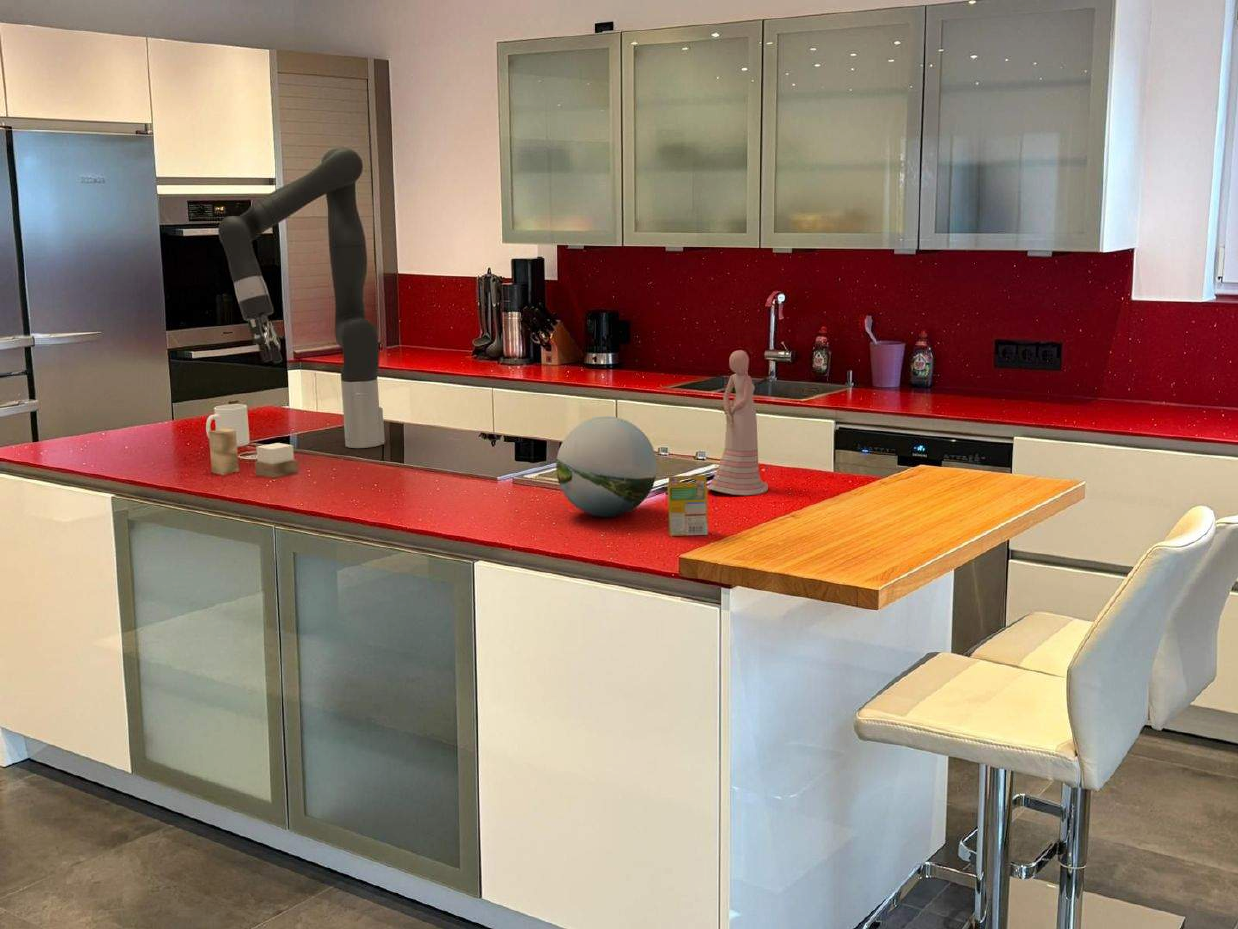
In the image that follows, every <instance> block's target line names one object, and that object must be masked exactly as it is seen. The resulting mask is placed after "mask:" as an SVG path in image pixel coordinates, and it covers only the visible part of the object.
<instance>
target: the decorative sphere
mask: <svg viewBox="0 0 1238 929" xmlns="http://www.w3.org/2000/svg"><path fill="white" fill-rule="evenodd" d="M657 463H658V462H657V457H656V452H655V450H654V447H653V445H652V443H651V441H650V439H649V438H648V437H647V435H646V434H645V433H644V432H643V431H642V430H641V429H640V428H639V427H637V425H635V424H634V423H632V422H630V421H628V420H626V419H623V418H620V417H616V416H598V417H593V418H590V419H588V420H585V421H583V422H581V423H579V424H578V425H577V426H575V427H574V428H573V429H571V431H569V433H567V435H566V436H565V438H564V439H563V440H562V442H561V445H560V447H559V449H558V452H557V457H556V462H555V464H556V465H555V467H556V470H555V471H556V478H557V482H558V484H559V488H560V489H561V491H562V493H563V494H564V497H566V499H567V500H568V501H569V502H570V503H571V504H572V505H573V506H574V507H576V508H577V509H578V510H580V511H581V512H584V513H585V514H588V515H592V516H595V517H600V518H612V517H613V518H614V517H619V516H623V515H625V514H628V513H630V512H632V511H633V510H635V509H636V508H637V507H639V506H640V505H641V504H642V503H643V502H644V501H645V500H646V499H647V497H648V496H649V494H650V493H651V491H652V489H653V487H654V483H655V482H656V477H657V470H658V464H657Z"/></svg>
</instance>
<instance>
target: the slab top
mask: <svg viewBox="0 0 1238 929" xmlns="http://www.w3.org/2000/svg"><path fill="white" fill-rule="evenodd" d="M294 455H295V453H294V445H292V444H288V443H281V442H275V443H270V444H263V445H259V446H256V459H257V460H256V461H259V462H264V463H269V464H276V463H282V462H287V461H292V460H295V457H294Z"/></svg>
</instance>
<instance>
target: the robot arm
mask: <svg viewBox="0 0 1238 929" xmlns="http://www.w3.org/2000/svg"><path fill="white" fill-rule="evenodd" d="M362 160H363V159H362V158H361V156H360V155H359V154H358V153H357V152H356V151H355V150H353V149H351V148H348V147H337V148H333V149H330V150H329V151H327V152H326V153H324V155H323V157H322V159H321V163H320V164H319V165H318V166H316V167H315V168H314V169H312V170H311V171H309V172H308V173H306V174H305V175H303V176H301V177H299V178H297V179H296V180H294V181H292V182H290V183H287V184H286V185H283V186H281V187H279V188H278V189H276V190H274V191H272V192H270V193H269V194H267V195H264V196H263V197H262V198H260V199H259V200H257V201H255V202H254V203H253V204H251V206H250V207H249V208H248V210H246V211H245V212H243V213H242V214H240V215H239V216H235V215H230V216H226V217H224V218H223V219H222V220H220V223H219V224H218V230H217V231H218V232H217V233H218V237H219V241H220V243H221V244H222V247H223V250H224V252H225V255H226V258H227V263H228V269H229V272H230V275H231V280H232V282H233V286H234V291H235V292H234V293H235V296H236V299H237V302H238V305H239V309H240V312H241V315H242V319H243V320H244V321H246V322H247V325H248V328H249V330H250V335H251V337H252V339H251V340H252V342H253V344H254V345H256V347H257V348H258V350H259V353H260V357H261V360H262V362H264V363H267V362H270V361H272V363H273V364H279V363H282V362H283V357H282V355H281V351H280V345H281V341H280V338H279V335H278V332H277V328H276V325H275V322H274V321H273V320H272V321H270V320H269V318H268V317H269V316H271V315H272V314H273V313H274V311H275V310H274V306H273V303H272V301H271V297H270V294H269V290H268V287H267V284H266V282H265V280H264V277H263V275H262V272H261V268H260V265H259V262H258V260H257V258H256V255H255V251H254V248H253V243H252V242H253V241H254V240H256V239H258V237H260V236H261V235H262V234H263V233H265V232H266V231H267V230H269V229H271V228H273V227H274V226H276V225H278V224H279V223H281V222H283V221H285V220H286V219H287V218H289V217H290V216H292V215H293V214H295V213H297V212H298V211H299V210H302V209H303V208H305V207H306V206H308V204H310V203H312V202H313V201H315V200H317V199H319V198H321V197H323V196H324V195H325V197H326V204H327V231H328V250H329V260H330V268H331V269H330V270H331V278H332V284H333V290H334V291H333V293H334V307H335V310H334V311H335V312H334V314H335V317H334V335H335V336H334V337H335V340H336V342H337V344H338V346H339V347H340V348H342V357H343V363H342V368H341V369H340V381H341V397H342V412H343V425H344V428H343V429H344V441H345V443H344V444H345V447H346V448H352V449H365V448H374V447H377V446H378V447H379V446H381V445H385V442H386V440H385V428H384V424H385V423H384V410H383V408H382V407H380V399H379V398H380V396H379V384H378V383H379V382H378V370H379V368H380V366H379V365H380V360H379V358H380V356H379V355H380V354H379V353H380V352H379V337H378V336H379V335H378V331H377V328H376V326H375V325H374V324H373V323H372V322H371V321H370V320H369V319H367V317H366V312H365V307H364V306H365V304H364V288H365V284H366V278H367V271H368V252H367V251H368V250H367V241H366V236H365V231H364V227H363V225H362V221H361V217H360V214H359V211H358V206H357V198H356V196H357V195H356V190H357V188H356V183H357V181H358V180H359V178H360V177H361V176H362V173H363V169H364V167H363V161H362Z"/></svg>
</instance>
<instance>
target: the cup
mask: <svg viewBox="0 0 1238 929" xmlns="http://www.w3.org/2000/svg"><path fill="white" fill-rule="evenodd" d="M213 411H214V412H213V413H214V414H211V415H209V416H208V417H207V419H206V424H205V431H206V436H207V438H208V439H209V432H208V431H211V424H212V421H213V420H214V424H215V430H220V429H230V430H236V440H237V448H240V447H246V446H248V445H249V444H250V442H251V441H250V431H249V419H248V418H249V417H248V406H247V405H246V404H238V403H237V404H235V403H234V404H224V405H217V406H215V407H214V408H213Z"/></svg>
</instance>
